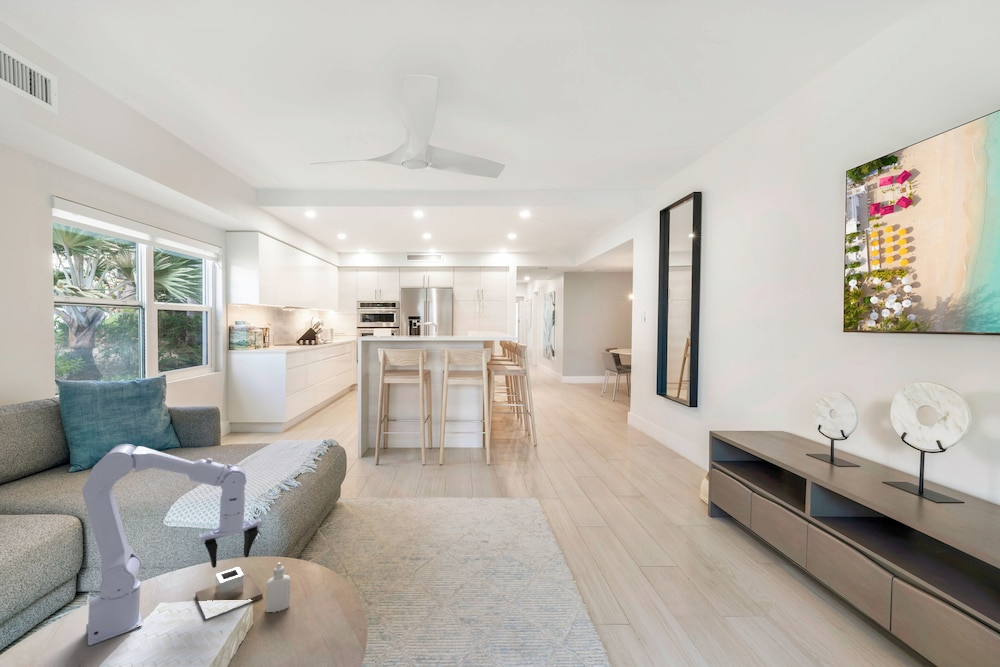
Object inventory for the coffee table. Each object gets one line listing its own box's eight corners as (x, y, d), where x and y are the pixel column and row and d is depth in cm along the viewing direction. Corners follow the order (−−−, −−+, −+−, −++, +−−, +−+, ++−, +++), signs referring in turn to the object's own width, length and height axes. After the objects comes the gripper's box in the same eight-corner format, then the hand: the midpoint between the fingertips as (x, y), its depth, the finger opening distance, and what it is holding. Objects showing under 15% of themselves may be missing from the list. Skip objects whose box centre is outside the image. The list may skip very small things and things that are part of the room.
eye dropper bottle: (272, 602, 112) (273, 558, 112) (292, 603, 111) (293, 559, 112) (262, 613, 107) (263, 567, 107) (283, 614, 107) (285, 568, 107)
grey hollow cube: (219, 601, 110) (220, 582, 110) (215, 592, 113) (216, 574, 114) (243, 593, 114) (243, 574, 114) (237, 584, 117) (238, 566, 117)
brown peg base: (205, 620, 104) (206, 599, 104) (195, 596, 113) (196, 577, 113) (262, 597, 114) (263, 578, 114) (248, 578, 123) (249, 560, 123)
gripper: (257, 500, 122) (255, 546, 122) (197, 514, 111) (195, 564, 111) (264, 507, 117) (262, 555, 117) (202, 522, 106) (200, 575, 106)
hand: (230, 560), depth 114 cm, fingers open, 7 cm apart
